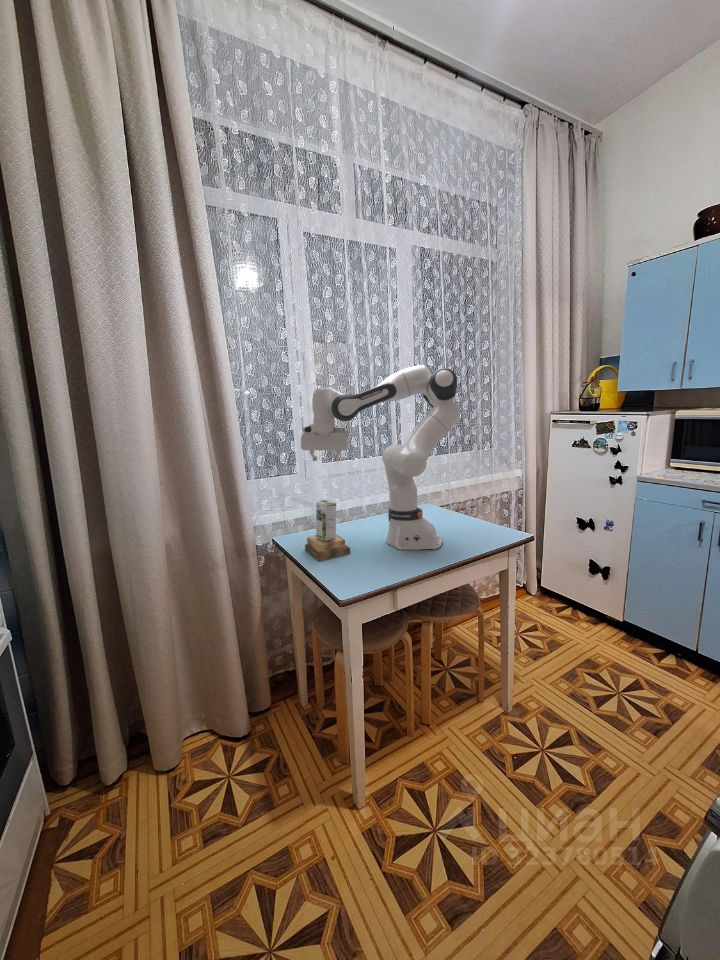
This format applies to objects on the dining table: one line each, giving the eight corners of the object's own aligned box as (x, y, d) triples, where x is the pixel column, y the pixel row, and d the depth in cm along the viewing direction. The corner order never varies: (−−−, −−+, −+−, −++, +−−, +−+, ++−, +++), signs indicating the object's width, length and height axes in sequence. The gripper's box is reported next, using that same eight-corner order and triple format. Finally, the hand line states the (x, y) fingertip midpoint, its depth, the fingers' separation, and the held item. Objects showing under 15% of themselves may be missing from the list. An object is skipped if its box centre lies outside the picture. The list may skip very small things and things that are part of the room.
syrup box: (315, 537, 151) (315, 501, 148) (328, 534, 154) (328, 498, 152) (323, 541, 146) (323, 504, 144) (336, 538, 150) (336, 501, 147)
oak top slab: (333, 538, 159) (332, 531, 158) (345, 547, 149) (344, 539, 148) (307, 544, 153) (307, 536, 153) (318, 553, 144) (317, 545, 143)
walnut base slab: (334, 544, 160) (334, 537, 160) (350, 555, 149) (349, 547, 149) (305, 551, 154) (304, 544, 153) (318, 562, 143) (318, 555, 142)
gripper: (350, 426, 162) (351, 460, 164) (304, 427, 166) (305, 459, 169) (346, 428, 156) (347, 462, 158) (298, 428, 160) (300, 461, 163)
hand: (325, 460), depth 164 cm, fingers open, 8 cm apart
